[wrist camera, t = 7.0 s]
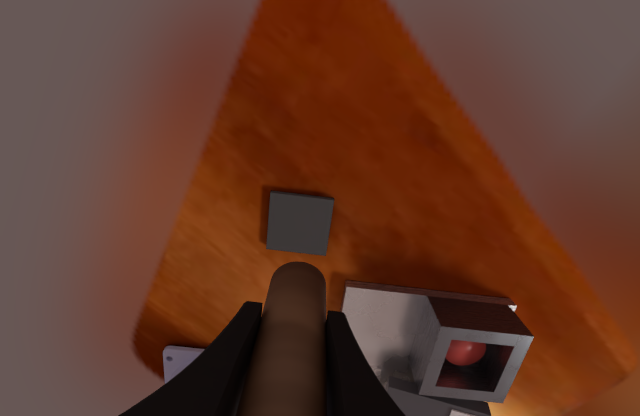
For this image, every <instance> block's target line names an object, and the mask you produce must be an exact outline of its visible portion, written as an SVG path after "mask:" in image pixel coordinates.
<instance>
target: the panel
mask: <svg viewBox="0 0 640 416" xmlns="http://www.w3.org/2000/svg"><path fill="white" fill-rule="evenodd" d="M516 307H517V306H516V304H515V303H514V302H513V301H512V300H511V299H508V298H499V297H491V296H482V295H473V294H464V293H455V292H446V291H438V290H429V289H420V288H411V287H402V286H393V285H384V284H376V283H367V282H358V281H349V280H346V282H345V287H344V293H343V298H342V304H341V309H340V312H344V314H345V315H346V318H347V320H348V323H349V325H350V328H351V330H352V332H353V334H354V336H355V339H356V341H357V343H358V345H359V347H360V348H361V350H362V352H363V354H364V356H365V358H366V360H367V361H368V363H369V365H370V366H371V368H372V370H373V371H374V373H375V375H376V376H377V378H378V379H379V381H380V382H381V384H382V385H383V387H384V388H386V384H387V380H388V377H389V376H392V377H396V378H400V379H403V380H407V381H410V382H414V383H415V384H416V387H417V391H418V394H419V395H427V396H437V397H447V398H457V399H467V400H477V401H486V402H496V403H503V402H504V399H505V397H506V395H507V393H508V391H509V389H510V387H511V384H512V382H513V380H514V378H515V376H516V374H517V372H518V370H519V367H520V365H521V363H522V361H523V359H524V357H525V355H526V352H527V350H528V348H529V346H530V344H531V342H532V340H533V337H534V336H533V335H532V334H531V332H530V331H529V330H528V329H527V327H526V326H525V325H524V324H523V322H522V321H521V320H520V319H519V318H518V316H517V315H516V314H515V313H514V311H515V309H516ZM451 340H461V341H470V342H479V343H485V344H486V351H485V353H484V355H483V356H482V358H481V359H479V360H478V361H477V362H475V363H473V364H470V365H464V366H460V365H455V364H452V363H450V362H449V361H448V360H447V359H446V354H447V351H448V348H449V346H450V343H451Z"/></svg>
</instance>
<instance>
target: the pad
mask: <svg viewBox="0 0 640 416" xmlns="http://www.w3.org/2000/svg"><path fill="white" fill-rule="evenodd" d="M333 204H334V198H329V197H320V196H312V195H304V194H296V193H288V192H279V191H271V192H270V205H269V219H268V233H267V246H266V249H272V250H281V251H289V252H298V253H307V254H315V255H324V256H326V251H327V244H328V237H329V231H330V224H331V217H332V211H333Z"/></svg>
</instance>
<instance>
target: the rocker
mask: <svg viewBox="0 0 640 416" xmlns="http://www.w3.org/2000/svg"><path fill="white" fill-rule="evenodd" d="M385 390H386V391H387V392H388V394H389V395H390V397H391V398H392V399H393V400H394V402H395V403H396V404H397V406H398V407H399V408H400V409H401V411H402V412H403V413H404V414H405V415H406V416H491V413H490V409H489V406H488V403H487V402H483V401H477V400H467V399H457V398H447V397H437V396H427V395H419V394H418V391H417V387H416V384H415V383H414V382H410V381H407V380H403V379H400V378H396V377H392V376H389V377H388V380H387V384H386V388H385Z"/></svg>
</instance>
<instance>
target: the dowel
mask: <svg viewBox="0 0 640 416" xmlns="http://www.w3.org/2000/svg"><path fill="white" fill-rule="evenodd" d="M236 416H327V373H326V282H325V279H324V276H323V274H322V273H321V272H320V271H319V270H318V269H317V268H316V267H314V266H313V265H311V264H308V263H305V262H290V263H287V264H284V265H282V266H281V267H279V268H278V269H277V270H276V271H275V273H274V274H273V276H272V279H271V283H270V286H269V290H268V294H267V298H266V302H265V305H264V309H263V313H262V317H261V321H260V325H259V329H258V333H257V336H256V340H255V344H254V348H253V351H252V355H251V359H250V363H249V367H248V371H247V374H246V378H245V382H244V386H243V390H242V394H241V397H240V401H239V405H238V409H237V413H236Z"/></svg>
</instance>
